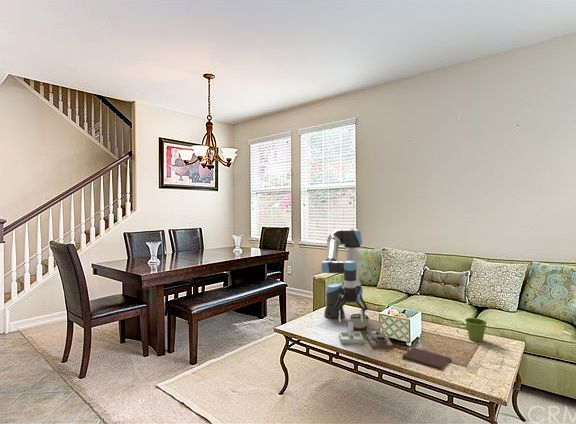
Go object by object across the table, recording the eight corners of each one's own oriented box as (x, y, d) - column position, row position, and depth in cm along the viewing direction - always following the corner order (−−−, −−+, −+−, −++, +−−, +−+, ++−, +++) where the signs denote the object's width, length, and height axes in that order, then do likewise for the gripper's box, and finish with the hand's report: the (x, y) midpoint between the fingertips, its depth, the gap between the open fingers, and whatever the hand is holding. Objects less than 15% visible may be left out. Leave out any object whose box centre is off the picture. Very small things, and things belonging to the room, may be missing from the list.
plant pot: (465, 341, 197) (464, 322, 197) (464, 334, 207) (464, 316, 207) (488, 345, 191) (488, 325, 191) (486, 337, 202) (486, 319, 202)
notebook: (413, 350, 188) (413, 346, 188) (450, 360, 174) (450, 356, 174) (402, 359, 177) (402, 355, 177) (440, 371, 163) (440, 367, 163)
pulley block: (366, 337, 205) (366, 328, 205) (385, 337, 205) (385, 328, 205) (371, 348, 189) (371, 339, 189) (393, 348, 189) (393, 339, 189)
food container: (367, 328, 221) (367, 313, 221) (369, 331, 215) (369, 316, 215) (349, 328, 222) (349, 313, 222) (350, 331, 216) (349, 316, 216)
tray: (339, 336, 208) (339, 331, 208) (359, 336, 207) (359, 331, 207) (341, 344, 196) (341, 339, 196) (363, 344, 196) (363, 339, 195)
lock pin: (348, 337, 203) (347, 321, 203) (353, 337, 203) (352, 321, 203) (348, 339, 200) (348, 323, 200) (353, 339, 200) (353, 323, 200)
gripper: (330, 288, 198) (330, 323, 199) (372, 288, 197) (372, 323, 198) (329, 285, 205) (329, 319, 206) (369, 284, 205) (370, 318, 205)
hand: (350, 321), depth 202 cm, fingers open, 13 cm apart
